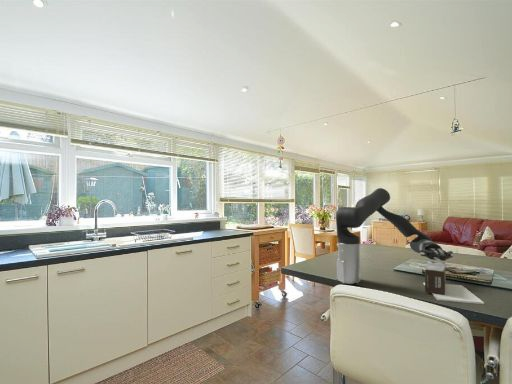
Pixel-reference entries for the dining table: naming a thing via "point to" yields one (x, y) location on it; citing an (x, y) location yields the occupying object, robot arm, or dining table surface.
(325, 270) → the dining table surface
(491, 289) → the dining table surface
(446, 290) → the white flat rectangular board
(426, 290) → the coffee box
